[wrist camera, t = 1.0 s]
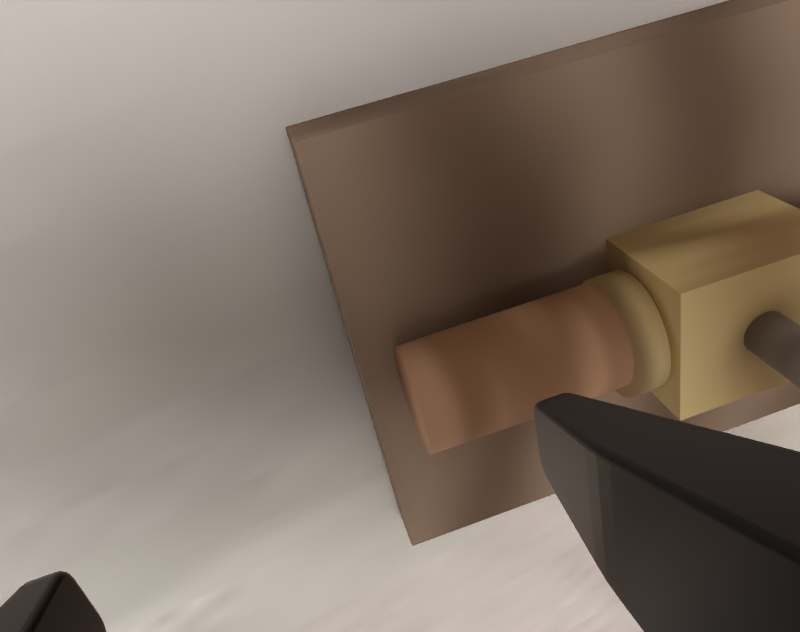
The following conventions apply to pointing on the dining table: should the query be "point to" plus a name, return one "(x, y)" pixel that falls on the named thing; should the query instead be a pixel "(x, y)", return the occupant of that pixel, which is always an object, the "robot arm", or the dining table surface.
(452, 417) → the valve stand
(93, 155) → the dining table surface
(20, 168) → the dining table surface
